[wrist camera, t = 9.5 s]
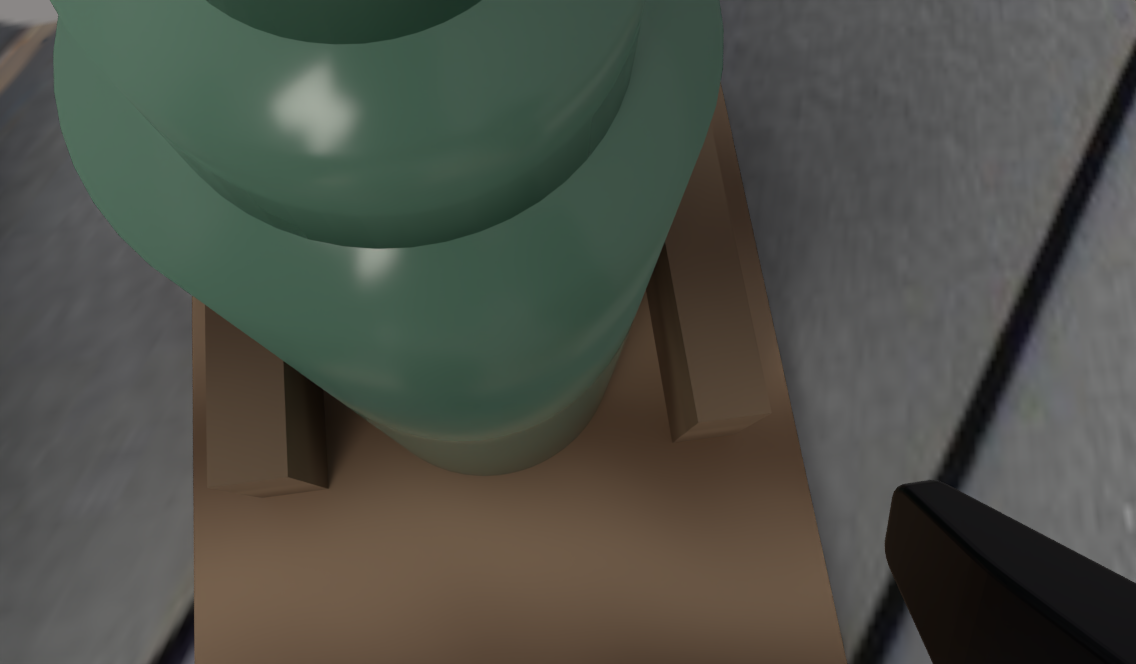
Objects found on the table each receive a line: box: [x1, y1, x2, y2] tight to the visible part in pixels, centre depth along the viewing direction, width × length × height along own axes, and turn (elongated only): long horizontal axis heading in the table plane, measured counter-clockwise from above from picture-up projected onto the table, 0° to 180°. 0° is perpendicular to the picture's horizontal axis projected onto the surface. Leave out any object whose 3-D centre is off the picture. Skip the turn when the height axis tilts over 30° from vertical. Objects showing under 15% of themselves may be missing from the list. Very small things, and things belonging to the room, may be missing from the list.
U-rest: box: [192, 82, 847, 664], centre depth 17 cm, size 18×14×4 cm
